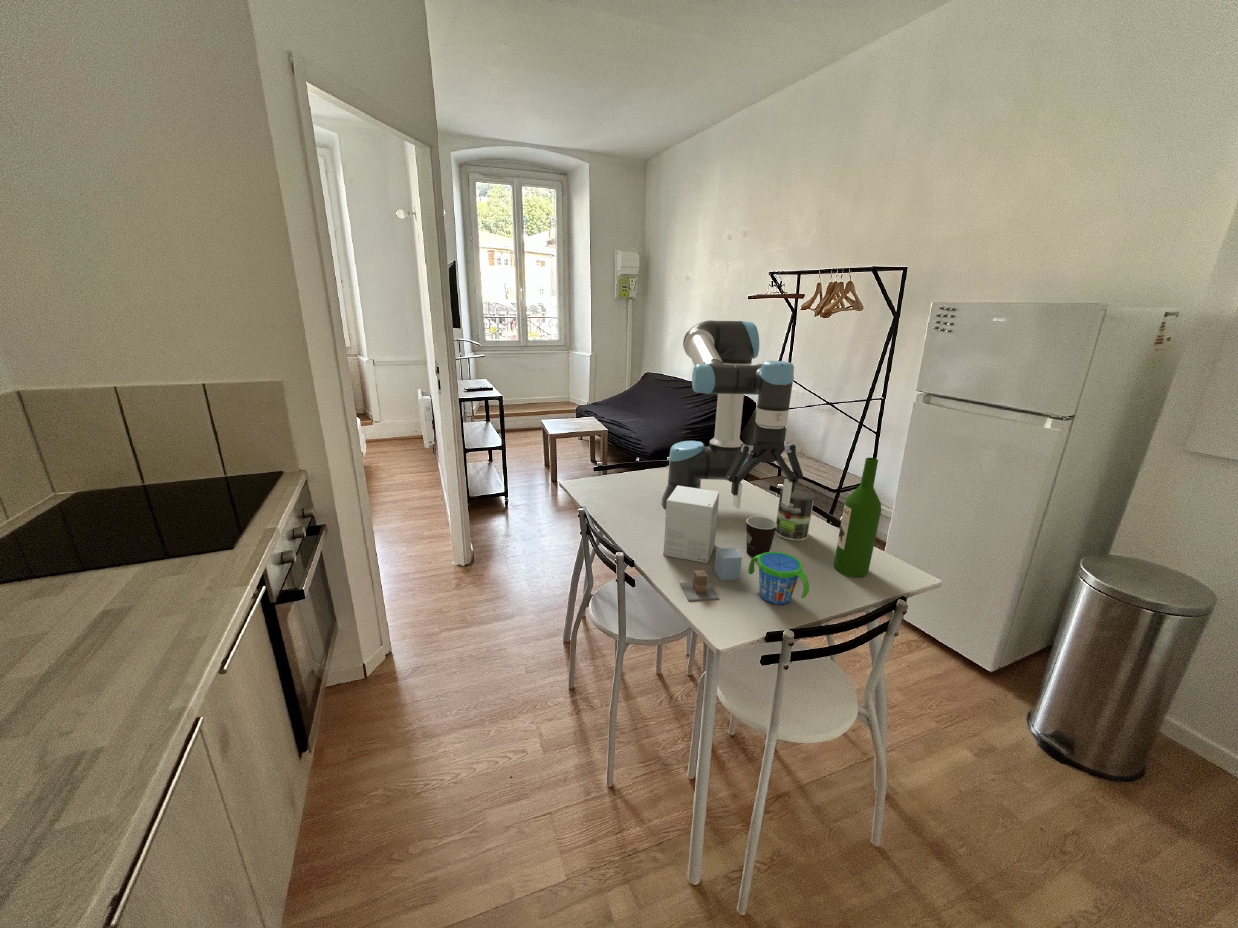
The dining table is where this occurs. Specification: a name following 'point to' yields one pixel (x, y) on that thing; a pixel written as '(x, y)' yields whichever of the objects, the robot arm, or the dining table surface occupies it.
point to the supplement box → (691, 523)
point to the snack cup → (778, 576)
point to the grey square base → (699, 588)
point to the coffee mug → (759, 535)
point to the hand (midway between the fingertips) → (760, 505)
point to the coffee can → (795, 515)
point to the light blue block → (728, 564)
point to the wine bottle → (859, 526)
